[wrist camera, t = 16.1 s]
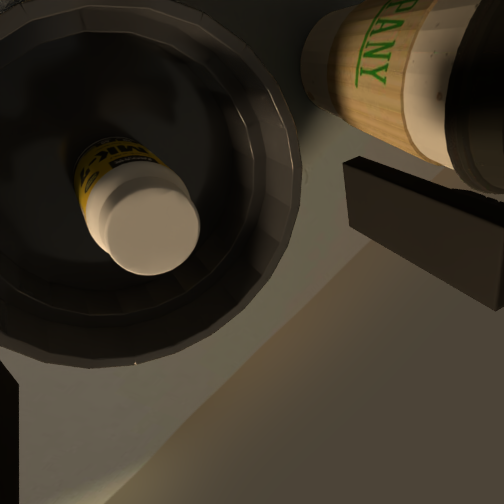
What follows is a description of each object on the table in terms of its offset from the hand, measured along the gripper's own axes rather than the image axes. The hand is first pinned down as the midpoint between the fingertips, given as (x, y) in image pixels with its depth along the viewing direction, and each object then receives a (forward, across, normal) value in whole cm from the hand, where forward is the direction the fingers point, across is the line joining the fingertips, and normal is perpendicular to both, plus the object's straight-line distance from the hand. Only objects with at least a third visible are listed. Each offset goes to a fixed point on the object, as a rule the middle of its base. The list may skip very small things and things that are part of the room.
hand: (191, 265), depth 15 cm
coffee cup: (+13, +16, +2) cm, 21 cm away
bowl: (+13, 0, 0) cm, 13 cm away
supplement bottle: (+12, 0, 0) cm, 12 cm away
